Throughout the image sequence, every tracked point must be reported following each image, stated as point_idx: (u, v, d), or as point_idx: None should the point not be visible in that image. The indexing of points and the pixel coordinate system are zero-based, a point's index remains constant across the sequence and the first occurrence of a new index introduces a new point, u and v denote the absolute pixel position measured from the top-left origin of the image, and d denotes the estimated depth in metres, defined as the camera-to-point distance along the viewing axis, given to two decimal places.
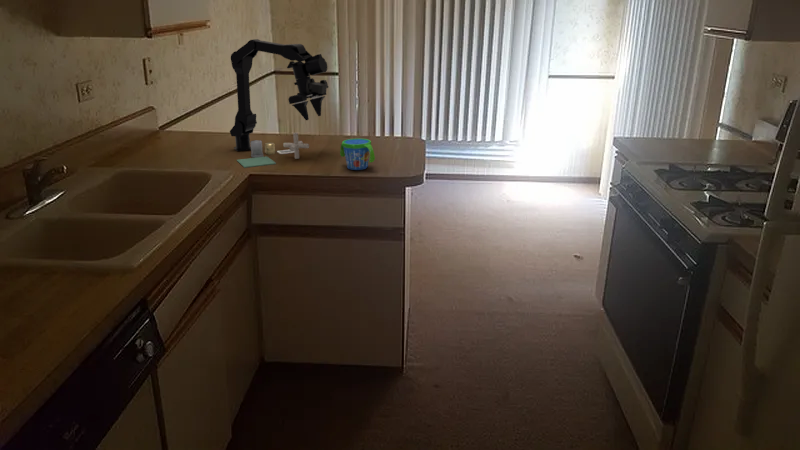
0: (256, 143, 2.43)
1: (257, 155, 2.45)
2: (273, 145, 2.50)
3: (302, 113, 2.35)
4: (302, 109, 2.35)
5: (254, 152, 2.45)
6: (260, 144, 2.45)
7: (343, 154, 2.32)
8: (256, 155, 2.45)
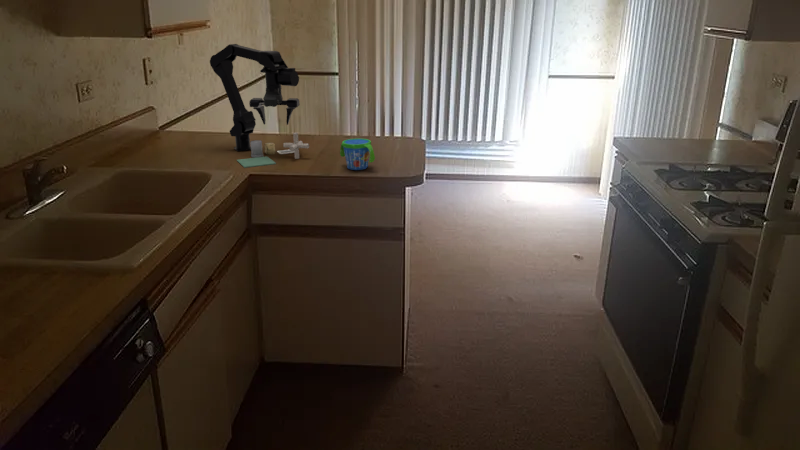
0: (256, 143, 2.44)
1: (257, 155, 2.45)
2: (273, 145, 2.50)
3: None
4: None
5: (253, 152, 2.45)
6: (260, 144, 2.45)
7: (343, 154, 2.32)
8: (256, 155, 2.45)
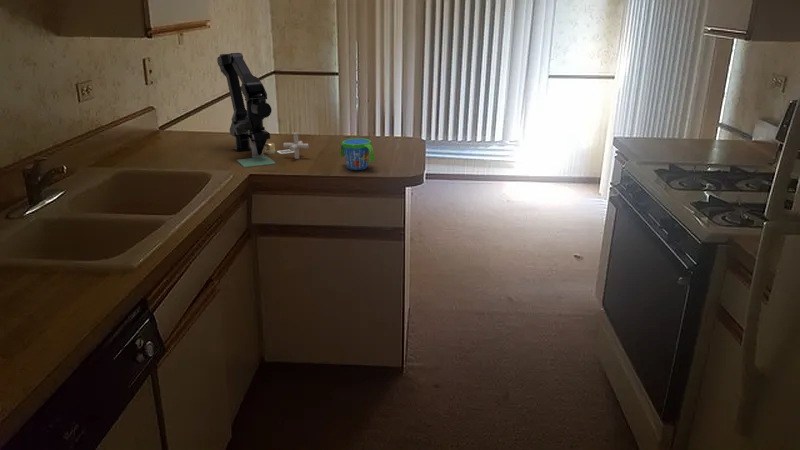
0: None
1: (258, 156, 2.44)
2: (273, 145, 2.50)
3: None
4: None
5: (254, 152, 2.44)
6: None
7: (343, 154, 2.32)
8: (257, 156, 2.44)
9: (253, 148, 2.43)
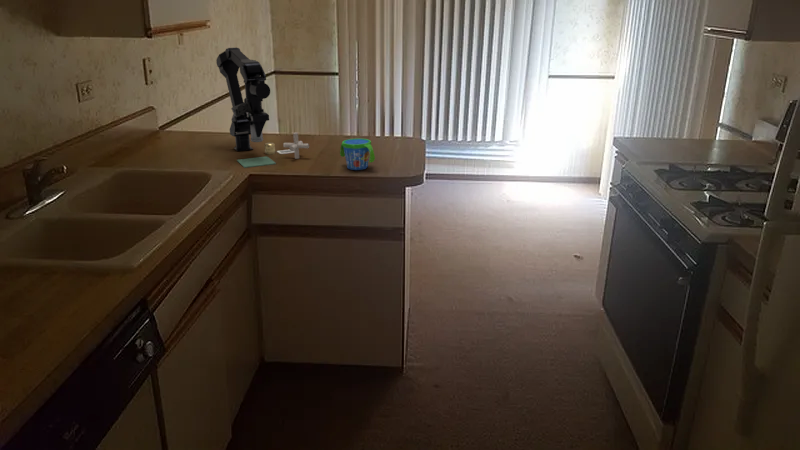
0: None
1: (257, 139, 2.41)
2: (273, 145, 2.50)
3: None
4: None
5: (253, 136, 2.41)
6: None
7: (343, 154, 2.32)
8: (256, 139, 2.41)
9: (252, 132, 2.40)
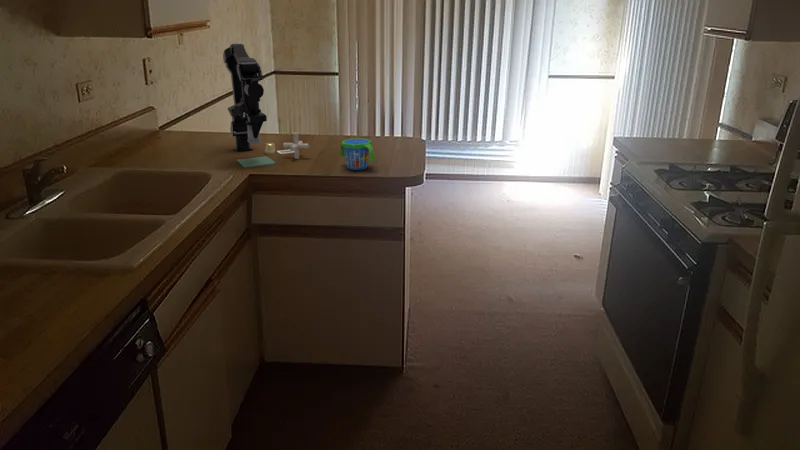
0: None
1: (254, 141, 2.33)
2: (273, 145, 2.50)
3: None
4: None
5: (250, 137, 2.33)
6: None
7: (343, 154, 2.32)
8: (253, 140, 2.33)
9: (249, 133, 2.32)
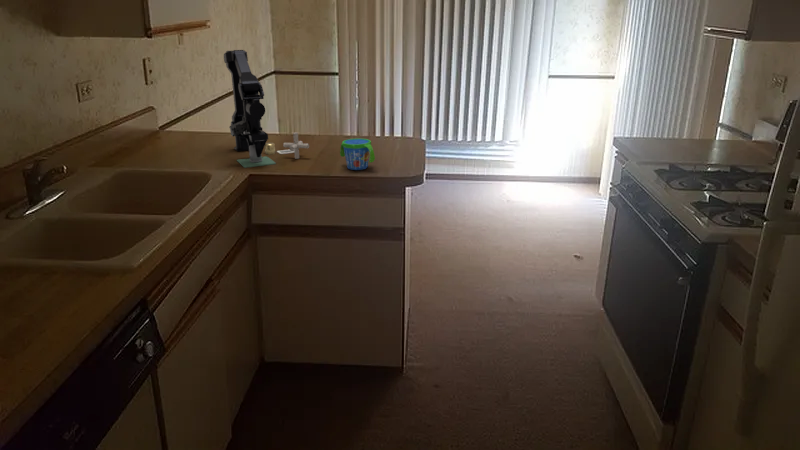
0: (254, 148, 2.34)
1: (256, 160, 2.36)
2: (273, 145, 2.50)
3: None
4: None
5: (252, 157, 2.35)
6: None
7: (343, 154, 2.32)
8: (255, 160, 2.36)
9: (251, 152, 2.35)
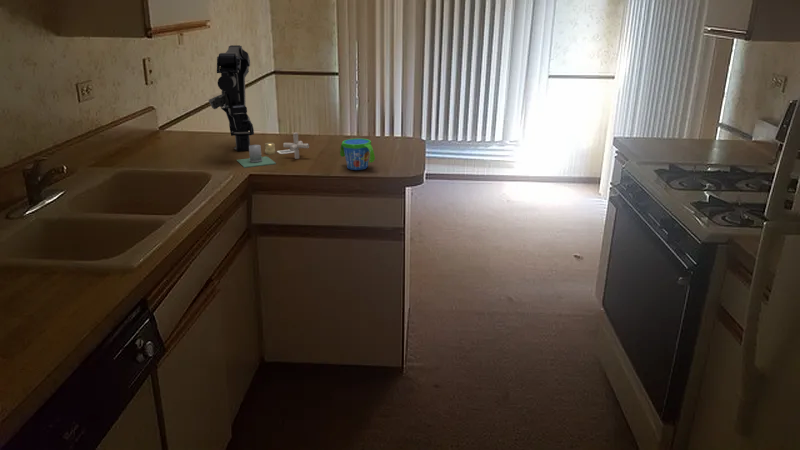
0: (254, 148, 2.34)
1: (256, 160, 2.36)
2: (273, 145, 2.50)
3: None
4: None
5: (252, 157, 2.35)
6: (259, 149, 2.35)
7: (343, 154, 2.32)
8: (255, 160, 2.36)
9: (251, 152, 2.35)
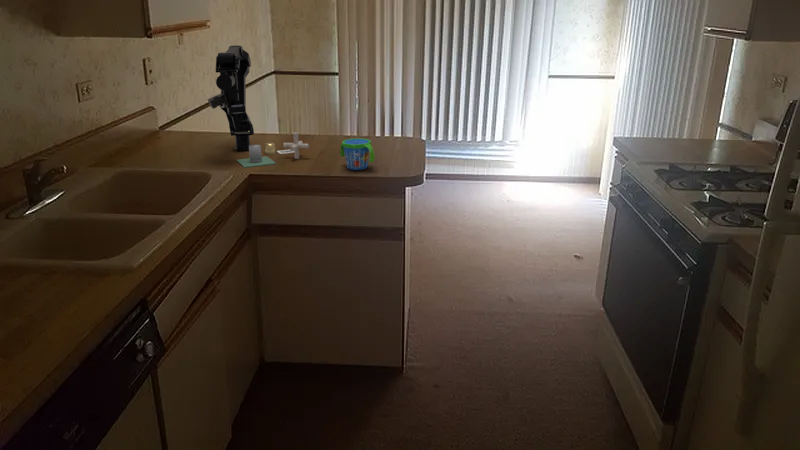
0: (254, 148, 2.34)
1: (256, 160, 2.36)
2: (273, 145, 2.50)
3: None
4: None
5: (252, 157, 2.35)
6: (259, 149, 2.35)
7: (343, 154, 2.32)
8: (255, 160, 2.36)
9: (251, 152, 2.35)
